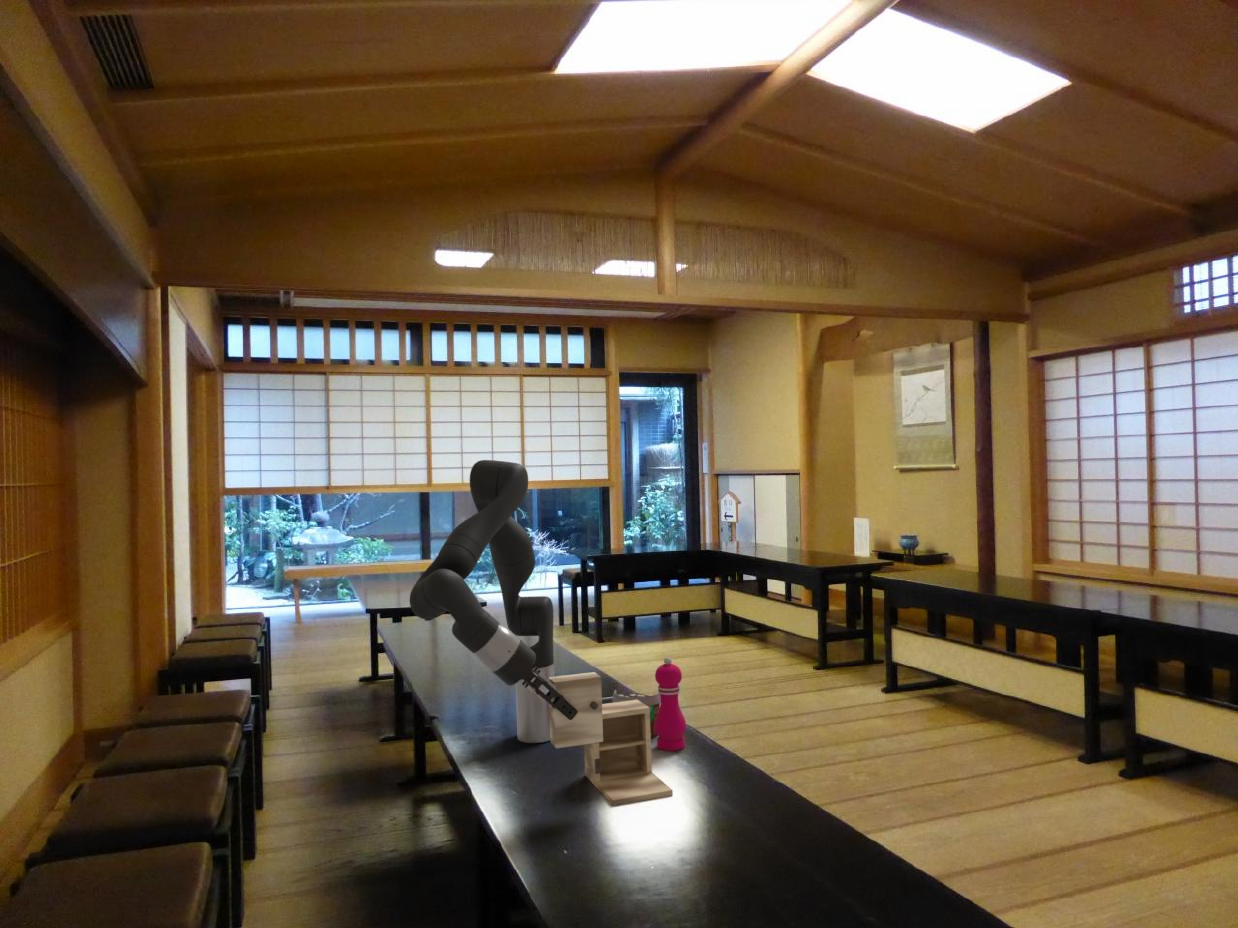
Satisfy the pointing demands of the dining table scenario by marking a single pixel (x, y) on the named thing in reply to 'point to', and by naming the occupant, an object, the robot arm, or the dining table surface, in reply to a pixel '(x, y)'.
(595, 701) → the door
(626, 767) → the cabinet
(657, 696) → the food container
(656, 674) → the pepper mill
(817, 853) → the dining table surface
